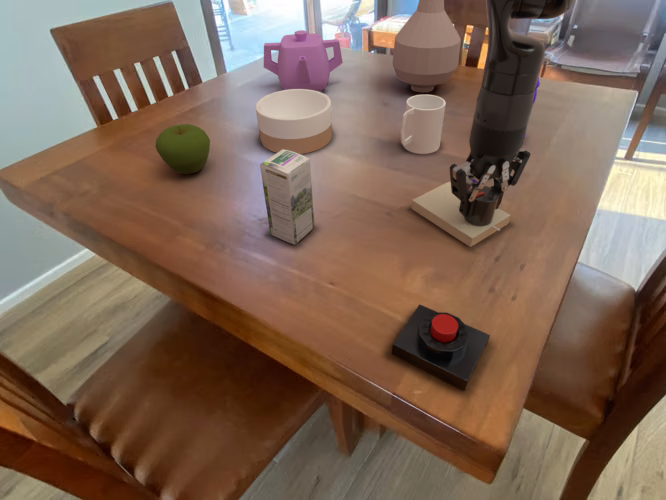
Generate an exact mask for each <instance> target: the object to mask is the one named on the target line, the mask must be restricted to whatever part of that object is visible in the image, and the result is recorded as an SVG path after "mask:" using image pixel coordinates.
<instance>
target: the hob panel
mask: <svg viewBox="0 0 666 500" xmlns="http://www.w3.org/2000/svg"><path fill="white" fill-rule="evenodd" d="M460 202H461V201H460V200H459V199H458V198H457V197H456V196H455V195H453V194H452V191H451V180H450V181H446V182H445V183H443V184H441V185H439V186H437V187H435V188H433V189H431V190H429V191H428V192H425V193H423V194H422V195H419V196H417V197H415V198H413V199H412V200H411V210H412V211H414V212H416V213H417V214H418V215H420V216H422V217H423V218H425V219H426V220H428V221H429V222H431V223H433V224H434V225H435V226H437V227H438V228H440V229H442V230H443V231H445V232H446V233H448V234H449V235H450V236H452V237H453V238H455V239H457V240H459V241H460V242H461V243H463V244H465V245H466V246H467V247H469V248H471V247H473V246H475V245H476V244H478V243H480V242H481V241H483V240H485V239H486V238H488V237H490V236H491V235H492V234H494V233H496V232H500V231H501V229H502V228H504V227H505V226H507V225H509V222H510V220H511V216H512V215H511V214H509V213H508V212H506V211H504V210H503V209H501V208H498V209H496V210H495V213H494V217H493V220H492V222H491V223H490V224H489V225H486V226H476V225H472V224H470V223H468V222H467V221H466V220H465V219H464V216H463V215H462V214H461V213H460V212H459V207H460Z"/></svg>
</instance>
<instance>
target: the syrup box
mask: <svg viewBox="0 0 666 500" xmlns="http://www.w3.org/2000/svg"><path fill="white" fill-rule="evenodd" d="M311 167H312V166H311V159H310V158H309V157H308V156H305V155H303V154H298V153H295V152H292V151H289V150H284V149H282V150H281V151H280V152H278V153H275V154H274V155H272V156H270V157H269V158H267V159H265V160H264V161H263V162H261V163H260V164H259V168H260V175H261V182H262V188H263V195H264V201H265V202H264V203H265V208H266V215H267V222H268V228H269V234H270V235H271V236H273V237H275V238H278V239H279V240H281V241H284V242H286V243H289V244H291V245H293V246H296V245H298V244H299V242H301V241H302V240H303V239H304V238H305V237H306V236H307V235H309V233H311V232H312V231H313V229H315V220H314V219H315V218H314V217H315V216H314V202H313V183H312V182H313V181H312V170H311V169H312V168H311Z"/></svg>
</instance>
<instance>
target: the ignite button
mask: <svg viewBox="0 0 666 500" xmlns="http://www.w3.org/2000/svg"><path fill="white" fill-rule="evenodd" d="M457 330H458V323H457V321H456V320H455V319H454V318H453V317H452V316H450V315H446V314H440V315H437V316H435V317H434V318H433V320H432V324H431V329H430V332H431V335H432V337H433V338H434V339H435V340H437V341H439V342H442V343H448V342H451V341H453V340H454V339H455V337H456V334H457Z"/></svg>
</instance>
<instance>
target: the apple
mask: <svg viewBox="0 0 666 500" xmlns="http://www.w3.org/2000/svg"><path fill="white" fill-rule="evenodd" d="M154 146H155V149H156V152H157V153H158V155H159V156H160V158H161V160H162V161H163V162H164V163H165V164H166V165H167V166H168V167H169V168H171V169H172V170H173V171H174V172H176V173H180V174H185V175H191V174H194V173H198V172H199V171H201V170H202V169H203V168H205V165H206V164H207V161H208V157H209V154H210V149H211V148H210V147H211V139H210V137H209V136H208V134H207V133H206V131H205V130H204V129H203V128H200V127H199V126H196V125H193V124H188V123H185V124H184V123H183V124H176V125H172V126H169V127H167V128H165V129H163V131H161V132H160V133H159V134H158V136H157V137H156V139H155V145H154Z"/></svg>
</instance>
